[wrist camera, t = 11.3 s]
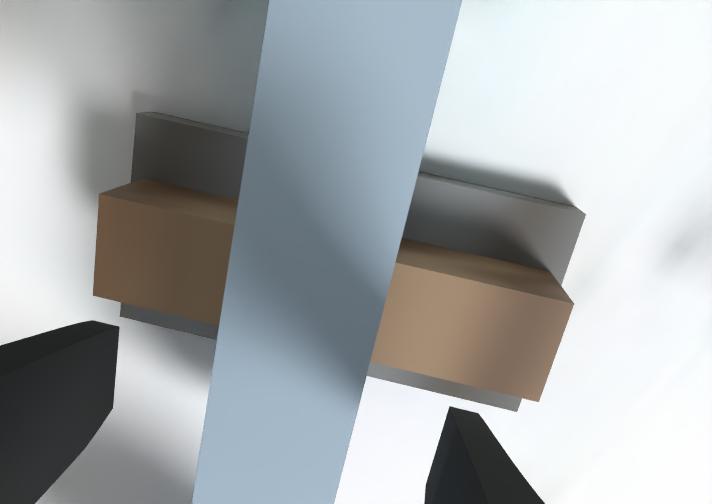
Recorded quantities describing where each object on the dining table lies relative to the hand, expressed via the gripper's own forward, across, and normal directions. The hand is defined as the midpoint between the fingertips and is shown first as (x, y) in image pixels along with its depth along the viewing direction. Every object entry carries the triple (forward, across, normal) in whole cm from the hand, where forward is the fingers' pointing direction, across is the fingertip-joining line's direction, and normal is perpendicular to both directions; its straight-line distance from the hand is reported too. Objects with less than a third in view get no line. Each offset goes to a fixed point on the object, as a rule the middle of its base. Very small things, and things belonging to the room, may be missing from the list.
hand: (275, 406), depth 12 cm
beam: (+6, 0, 0) cm, 6 cm away
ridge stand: (+10, 0, 0) cm, 10 cm away
